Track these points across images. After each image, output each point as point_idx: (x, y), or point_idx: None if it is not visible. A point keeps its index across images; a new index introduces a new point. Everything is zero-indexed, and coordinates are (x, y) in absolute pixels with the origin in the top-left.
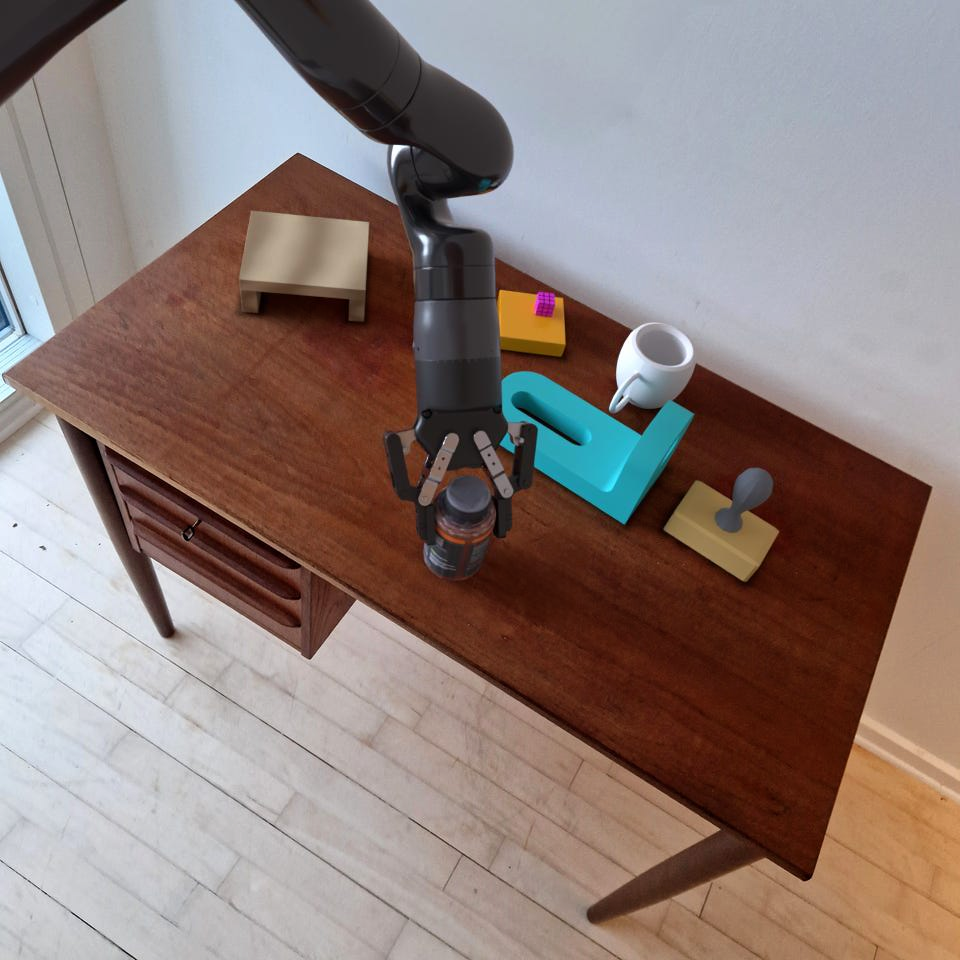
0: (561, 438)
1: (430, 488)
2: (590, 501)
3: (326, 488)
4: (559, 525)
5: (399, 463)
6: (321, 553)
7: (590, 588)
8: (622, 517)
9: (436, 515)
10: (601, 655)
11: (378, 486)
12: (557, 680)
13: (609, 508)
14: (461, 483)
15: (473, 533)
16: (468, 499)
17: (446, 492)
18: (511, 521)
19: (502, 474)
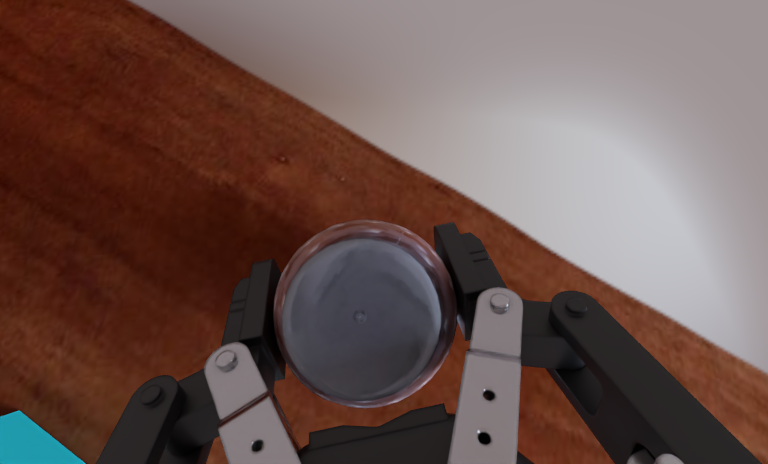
0: None
1: (493, 333)
2: (79, 462)
3: None
4: None
5: (658, 401)
6: (602, 297)
7: (118, 260)
8: (11, 422)
9: (447, 279)
10: (121, 137)
11: None
12: (202, 93)
13: (35, 443)
14: (388, 356)
15: (342, 225)
16: (362, 289)
17: (440, 315)
18: (233, 297)
19: (230, 414)
